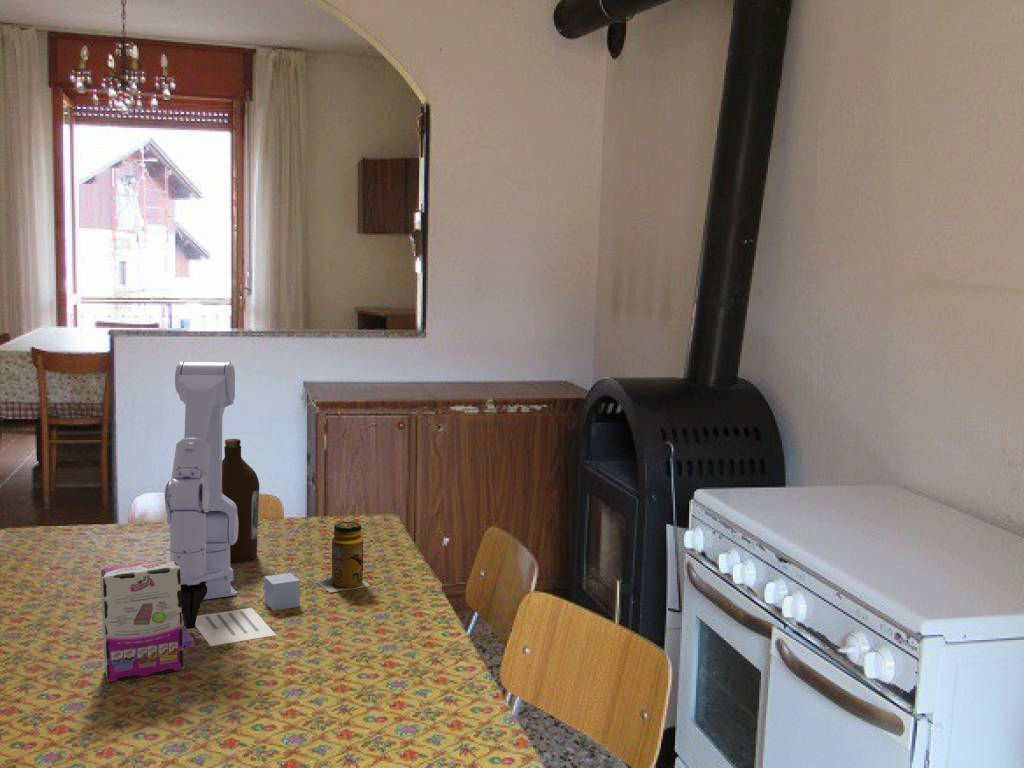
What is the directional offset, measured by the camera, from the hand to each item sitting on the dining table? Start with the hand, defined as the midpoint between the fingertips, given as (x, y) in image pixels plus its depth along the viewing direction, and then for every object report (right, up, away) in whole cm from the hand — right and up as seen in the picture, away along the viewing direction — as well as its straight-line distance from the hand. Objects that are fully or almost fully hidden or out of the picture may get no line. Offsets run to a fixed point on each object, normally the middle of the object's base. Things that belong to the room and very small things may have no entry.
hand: (189, 626), depth 175 cm
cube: (+12, 0, +15) cm, 20 cm away
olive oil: (-4, +4, +44) cm, 44 cm away
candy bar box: (-2, -3, -16) cm, 16 cm away
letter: (+6, -1, +4) cm, 7 cm away
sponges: (-3, -2, -2) cm, 5 cm away
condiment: (+21, +2, +27) cm, 35 cm away
